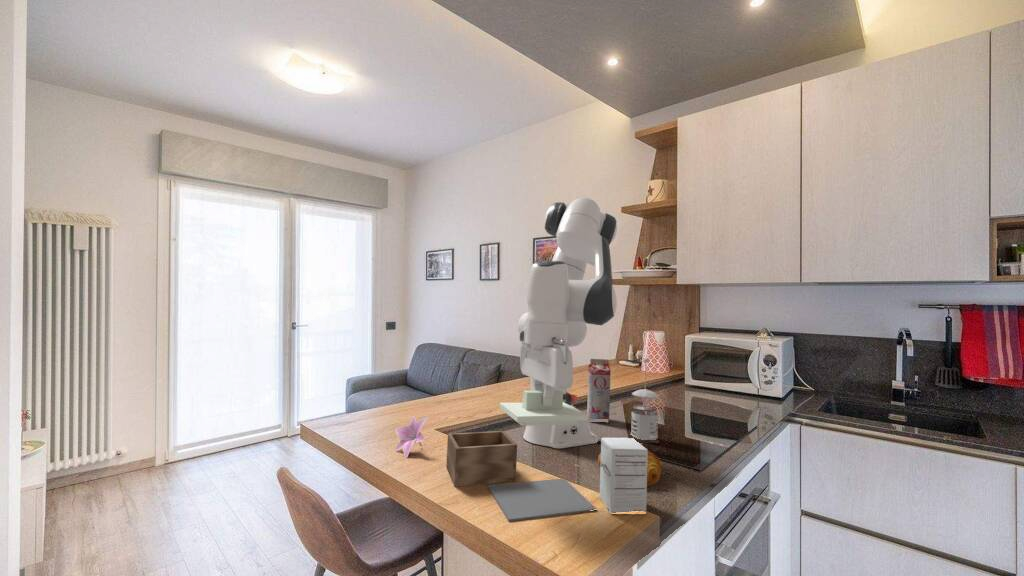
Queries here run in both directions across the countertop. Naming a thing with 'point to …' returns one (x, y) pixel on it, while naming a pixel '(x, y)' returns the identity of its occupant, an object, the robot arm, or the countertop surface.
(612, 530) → the countertop surface
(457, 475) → the box
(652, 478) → the croissant
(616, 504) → the supplement box
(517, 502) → the mat
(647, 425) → the french press
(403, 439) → the lily
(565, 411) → the lid
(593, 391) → the juice carton
